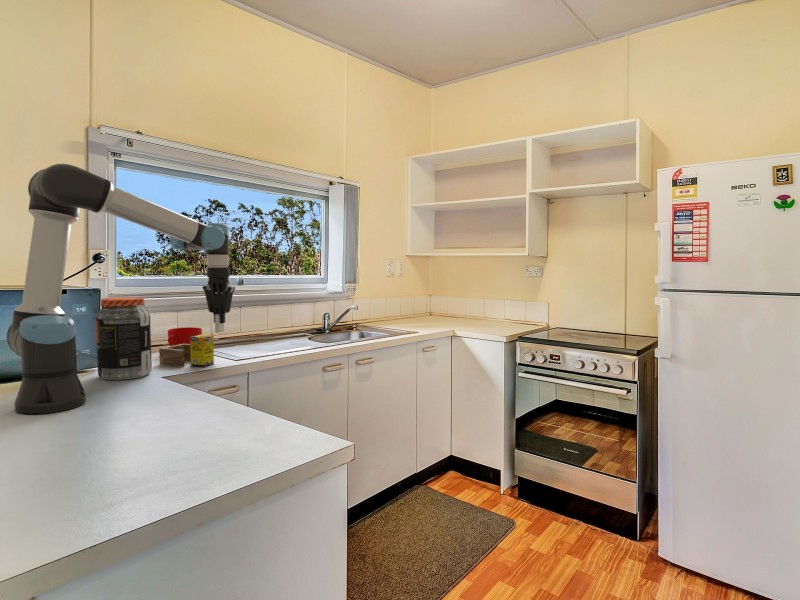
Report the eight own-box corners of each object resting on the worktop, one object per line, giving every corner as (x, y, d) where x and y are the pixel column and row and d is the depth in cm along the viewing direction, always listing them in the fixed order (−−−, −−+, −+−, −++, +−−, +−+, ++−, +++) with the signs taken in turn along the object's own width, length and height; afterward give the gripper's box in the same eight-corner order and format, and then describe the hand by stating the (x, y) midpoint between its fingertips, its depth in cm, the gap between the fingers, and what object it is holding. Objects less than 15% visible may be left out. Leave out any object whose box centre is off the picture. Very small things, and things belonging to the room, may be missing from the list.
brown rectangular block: (181, 367, 176) (181, 350, 175) (159, 364, 179) (159, 348, 179) (205, 361, 186) (204, 345, 186) (184, 358, 190) (183, 343, 190)
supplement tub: (162, 372, 166) (160, 297, 164) (122, 383, 152) (119, 301, 150) (128, 368, 172) (125, 296, 170) (86, 378, 157) (82, 299, 155)
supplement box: (205, 367, 176) (204, 337, 175) (190, 366, 177) (189, 336, 176) (214, 363, 182) (214, 335, 181) (200, 363, 183) (199, 334, 182)
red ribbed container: (154, 357, 192) (154, 332, 191) (181, 349, 208) (180, 326, 208) (184, 359, 190) (183, 333, 189) (208, 351, 206) (208, 328, 205)
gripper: (239, 266, 175) (241, 331, 177) (211, 266, 179) (213, 329, 181) (225, 267, 168) (226, 334, 170) (196, 266, 172) (198, 332, 174)
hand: (219, 332), depth 176 cm, fingers closed
